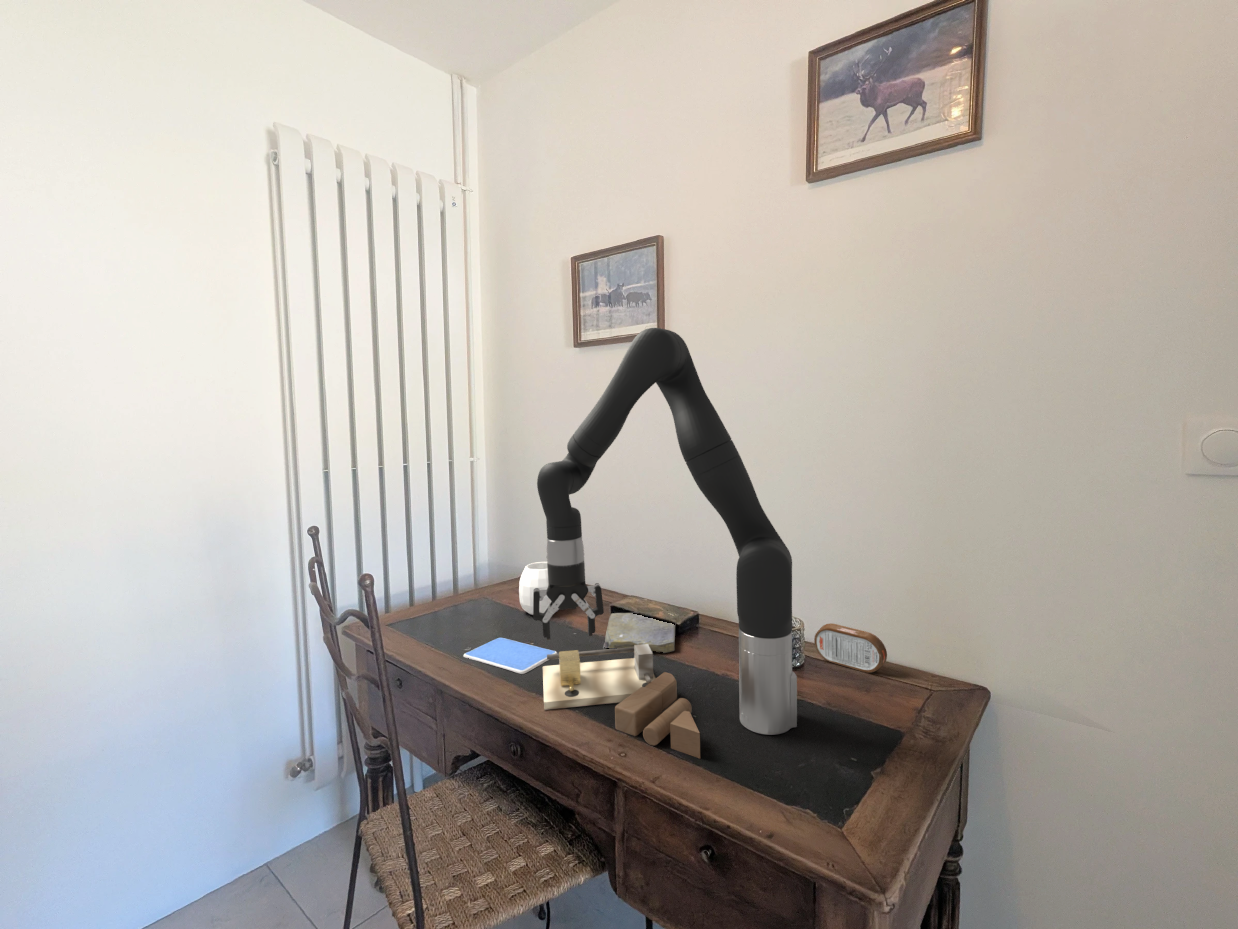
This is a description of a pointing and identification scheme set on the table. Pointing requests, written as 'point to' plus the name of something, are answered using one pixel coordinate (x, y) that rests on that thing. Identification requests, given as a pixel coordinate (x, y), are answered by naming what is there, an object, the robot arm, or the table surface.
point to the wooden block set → (659, 716)
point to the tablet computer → (510, 655)
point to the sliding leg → (569, 668)
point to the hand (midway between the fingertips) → (569, 636)
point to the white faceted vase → (534, 586)
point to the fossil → (639, 632)
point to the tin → (850, 647)
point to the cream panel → (599, 679)
